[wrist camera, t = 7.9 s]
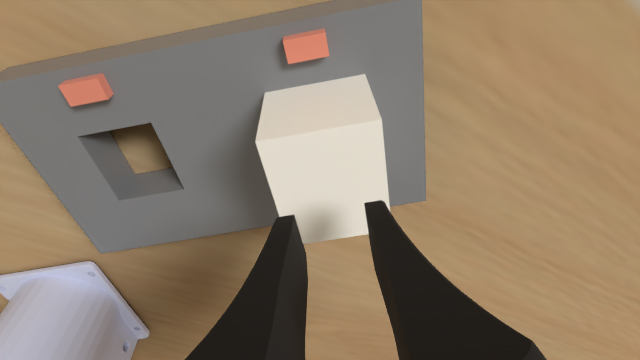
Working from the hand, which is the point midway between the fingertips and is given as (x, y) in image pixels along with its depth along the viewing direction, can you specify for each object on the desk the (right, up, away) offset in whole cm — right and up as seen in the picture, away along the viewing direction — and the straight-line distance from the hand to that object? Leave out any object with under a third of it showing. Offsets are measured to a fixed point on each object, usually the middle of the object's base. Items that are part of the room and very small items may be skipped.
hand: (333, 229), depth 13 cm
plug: (0, +5, +7) cm, 9 cm away
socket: (-5, +5, +8) cm, 11 cm away
